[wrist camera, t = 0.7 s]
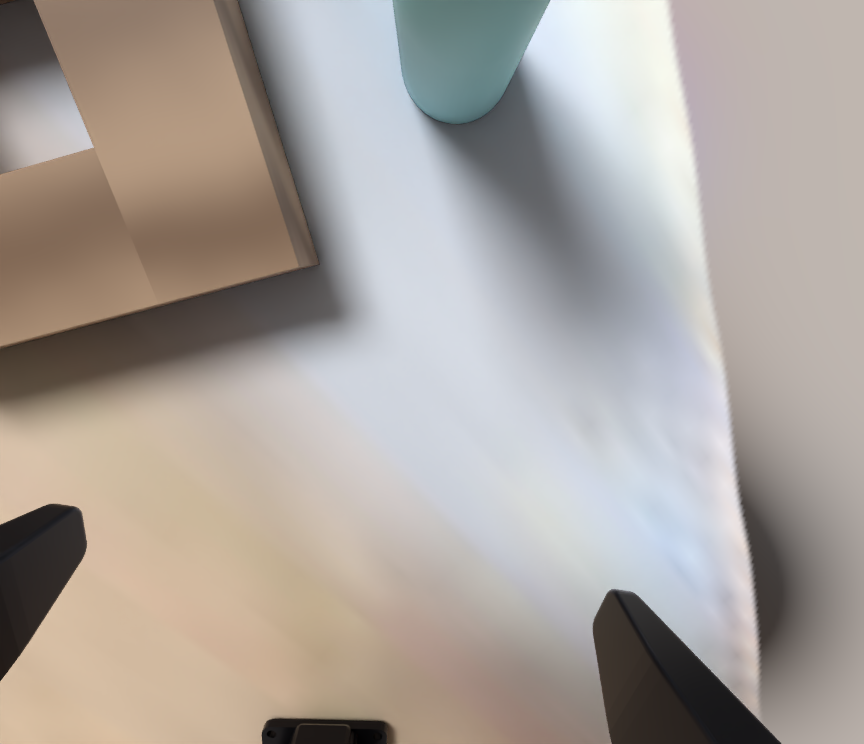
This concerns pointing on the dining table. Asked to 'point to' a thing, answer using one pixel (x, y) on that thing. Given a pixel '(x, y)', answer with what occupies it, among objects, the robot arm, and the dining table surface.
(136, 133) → the socket
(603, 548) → the dining table surface
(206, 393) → the dining table surface
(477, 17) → the peg
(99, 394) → the dining table surface
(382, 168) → the dining table surface
